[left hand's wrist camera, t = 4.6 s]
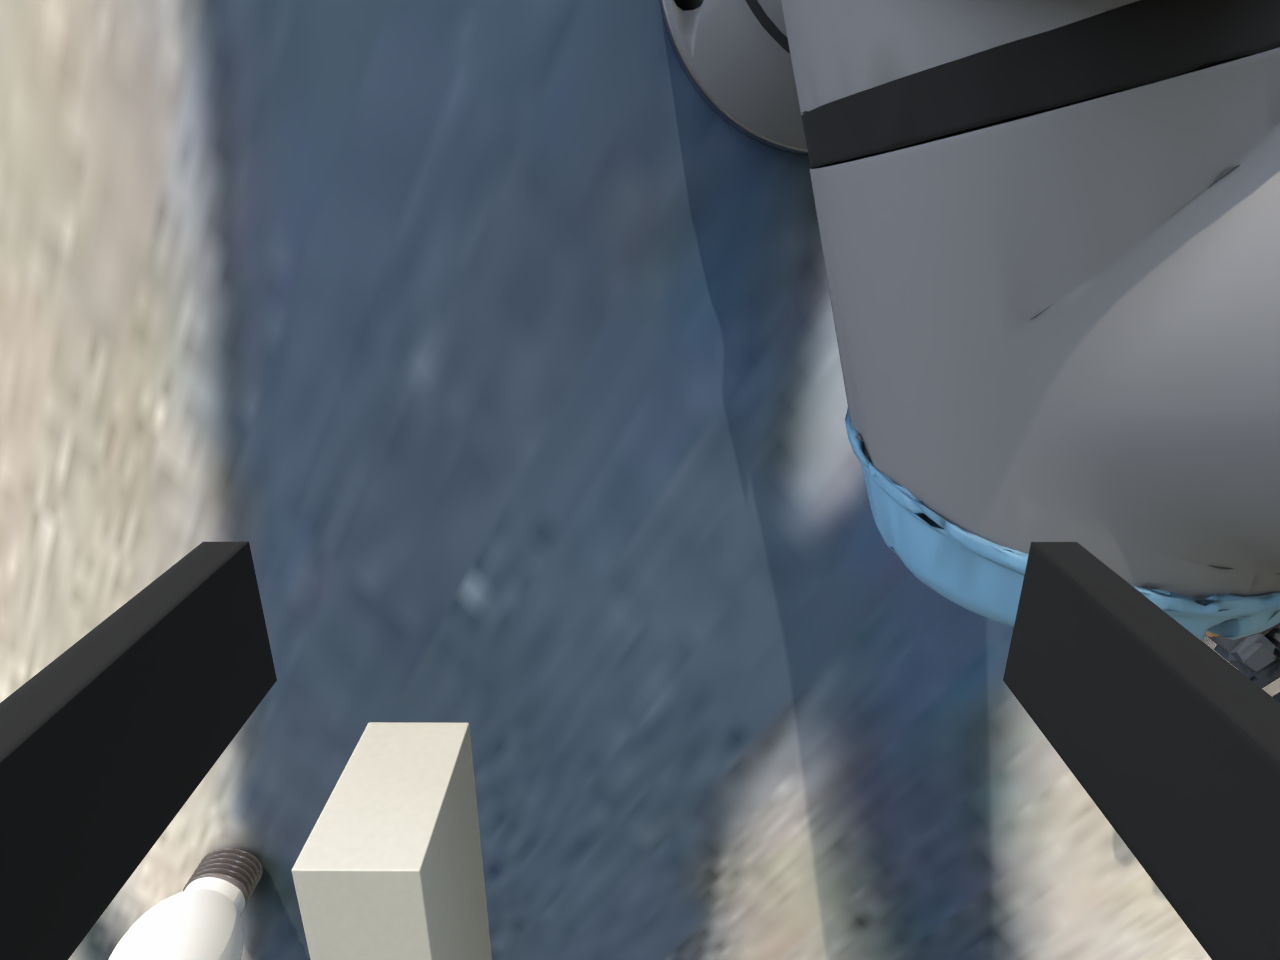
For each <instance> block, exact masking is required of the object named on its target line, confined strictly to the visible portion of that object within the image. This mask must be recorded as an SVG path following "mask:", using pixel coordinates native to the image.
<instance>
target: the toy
mask: <svg viewBox="0 0 1280 960" xmlns="http://www.w3.org/2000/svg"><path fill="white" fill-rule="evenodd" d="M1205 635H1207V636H1208V637H1209V638H1210V639H1211V640H1212V641H1214V642H1215V643H1216V644H1217V646H1216V647H1215V649H1214V650H1215V651H1216V652H1218V653H1219V654H1220V655H1221V656H1222V657H1224V658H1225V659H1226V660H1227V661H1228V662H1230V663H1231V664H1232V665H1233V666H1235V667H1236V668H1237V669H1238V670H1239V671H1240V672H1241V673H1242V674H1244V675H1245V676H1246V677H1247V678H1249V679H1250V680H1251V681H1252V682H1254V683H1255V684H1256V685H1257V686H1259V687H1260V688H1261V689H1262V688H1264V687H1265V686H1267V685H1268V684H1270V683H1271V682H1273V681H1275V680H1276V679H1278V678H1279V677H1280V623H1278V624H1276V625H1274V626H1272V627H1270V628H1268V629H1266V630H1264V631H1262V632H1259V633H1256V634H1252V635H1249V636H1245V637H1242V638H1238V639H1234V640H1232V639H1228V638H1225V637H1221V636H1219V635H1216V634H1213V633H1211V632H1208V631H1206V634H1205ZM1272 698H1274V699H1275V700H1276V701H1277V702H1279V703H1280V692H1279V693H1278V694H1276V695H1274V696H1273V697H1272Z"/></svg>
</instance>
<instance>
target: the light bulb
mask: <svg viewBox="0 0 1280 960" xmlns="http://www.w3.org/2000/svg"><path fill="white" fill-rule="evenodd" d="M262 872H263V870H262V866H261V863H260V862H259V861H258V859H257V858H256V857H254V856H253V855H252V854H250V853H248V852H246V851H243V850H239V849H231V848H227V849H220V850H216V851H214V852H211V853H209V854H208V855H207V856H205V857H204V858H203V860H202V861H201V863H200V864H199V866H198V868H197V869H196V870H195V872H194V873H193V875H192V877H191V878H190V879H189V881H188V883H187V884H186V885H185V887H184V889H183V892H180V893H178V894H175V895H173V896H171V897H169V898H166V899H164V900H162V901H161V902H159V903H158V904H157V905H155V906H154V907H152V908H151V909H149V910H148V911H147V912H145V913H144V914H143V915H142V916H141V917H140V918H139V919H138V920H137V921H136V922H135V923H134V924H133V925H132V926H131V927H130V929H129V930H128V931H127V932H126V934H125V935H124V936H123V937H122V939H121V940H120V941H119V942H118V944H117V946H116V947H115V949H114V951H113V952H112V954H111V956H110V957H109V960H241V956H242V951H243V942H244V931H243V924H242V918H241V916H240V915H241V913H242V911H243V909H244V907H245V905H246V903H247V902H248V900H249V898H250V896H251V894H252V893H253V890H254V889H255V887H256V885H257V883H258V882H259V880H260V878H261V876H262Z"/></svg>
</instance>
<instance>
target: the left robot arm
mask: <svg viewBox="0 0 1280 960" xmlns="http://www.w3.org/2000/svg"><path fill="white" fill-rule="evenodd" d="M660 5H661V11H662V15H663V19H664V23H665V26H666V30H667V33H668V36H669V39H670V41H671V44H672V47H673V50H674V52H675V54H676V56H677V58H678V60H679V62H680V64H681V67H682V68H683V70H684V72H685V73H686V75H687V77H688V78H689V80H690V82H691V83H692V84H693V86H694V87H695V89H696V90H697V91H698V93H699V94H700V95H701V97H702V98H703V99H704V100H705V101H706V102H707V103H708V104H709V106H710V107H711V108H712V109H713V110H714V111H715V112H716V113H717V114H719V115H720V116H721V117H722V118H723V119H724V120H725V121H726V122H728V123H729V124H731V125H732V126H733V127H735V128H736V129H737V130H739V131H740V132H742V133H744V134H746V135H747V136H749V137H751V138H753V139H755V140H757V141H759V142H761V143H764V144H766V145H768V146H771V147H774V148H778V149H781V150H784V151H789V152H794V153H799V154H808V156H809V161H810V176H811V182H812V188H813V194H814V200H815V206H816V212H817V218H818V225H819V231H820V237H821V243H822V249H823V255H824V261H825V267H826V274H827V280H828V286H829V292H830V298H831V304H832V310H833V317H834V323H835V329H836V335H837V341H838V347H839V353H840V359H841V366H842V372H843V378H844V384H845V390H846V396H847V402H848V410H847V414H846V419H845V421H846V428H847V433H848V438H849V441H850V443H851V446H852V448H853V451H854V453H855V454H856V456H857V457H858V459H859V460H860V462H861V465H862V470H863V474H864V478H865V483H866V487H867V492H868V496H869V501H870V505H871V510H872V513H873V517H874V520H875V523H876V526H877V528H878V530H879V532H880V534H881V536H882V538H883V539H884V541H885V543H886V544H887V546H888V547H889V548H890V549H891V550H892V551H894V552H895V553H896V554H897V555H898V556H899V557H900V558H901V560H902V561H903V563H904V564H905V566H906V567H907V568H908V569H909V570H910V571H911V572H912V573H913V574H914V575H915V576H916V577H917V578H918V579H919V580H920V581H921V582H923V583H924V584H926V585H927V586H929V587H930V588H932V589H933V590H934V591H936V592H937V593H939V594H940V595H942V596H943V597H945V598H947V599H949V600H950V601H952V602H954V603H956V604H957V605H959V606H961V607H963V608H965V609H967V610H969V611H972V612H974V613H976V614H979V615H981V616H983V617H986V618H988V619H991V620H993V621H996V622H998V623H1001V624H1004V625H1007V626H1011V627H1014V629H1013V634H1012V639H1011V644H1010V649H1009V654H1008V659H1007V664H1006V669H1005V674H1004V679H1003V681H1004V682H1005V683H1006V685H1007V686H1008V687H1009V689H1010V690H1011V691H1012V693H1013V694H1014V695H1015V697H1016V698H1017V699H1018V701H1019V702H1020V703H1021V705H1022V706H1023V707H1024V709H1025V710H1026V711H1027V713H1028V714H1029V715H1030V717H1031V718H1032V719H1033V721H1034V722H1035V723H1036V725H1037V726H1038V727H1039V729H1040V730H1041V731H1042V733H1043V734H1044V735H1045V737H1046V738H1047V739H1048V741H1049V742H1050V743H1051V745H1052V746H1053V747H1054V749H1055V750H1056V751H1057V753H1058V754H1059V755H1060V757H1061V758H1062V759H1063V761H1064V762H1065V764H1066V765H1067V766H1068V768H1069V769H1070V770H1071V772H1072V773H1073V774H1074V776H1075V777H1076V778H1077V780H1078V781H1079V782H1080V784H1081V785H1082V786H1083V788H1084V789H1085V790H1086V792H1087V793H1088V794H1089V796H1090V797H1091V798H1092V800H1093V801H1094V802H1095V804H1096V805H1097V806H1098V808H1099V809H1100V810H1101V812H1102V813H1103V814H1104V816H1105V817H1106V818H1107V820H1108V821H1109V822H1110V824H1111V825H1112V826H1113V828H1114V829H1115V830H1116V832H1117V833H1118V834H1119V836H1120V837H1121V838H1122V840H1123V841H1124V842H1125V844H1126V845H1127V846H1128V848H1129V849H1130V850H1131V852H1132V853H1133V854H1134V856H1135V857H1136V858H1137V860H1138V861H1139V862H1140V864H1141V865H1142V866H1143V868H1144V869H1145V871H1146V872H1147V873H1148V875H1149V876H1150V877H1151V879H1152V880H1153V881H1154V883H1155V884H1156V885H1157V887H1158V888H1159V889H1160V891H1161V892H1162V893H1163V895H1164V896H1165V897H1166V899H1167V900H1168V901H1169V903H1170V904H1171V905H1172V907H1173V908H1174V909H1175V911H1176V912H1177V913H1178V915H1179V916H1180V917H1181V919H1182V920H1183V921H1184V923H1185V924H1186V925H1187V927H1188V928H1189V929H1190V931H1191V932H1192V933H1193V935H1194V936H1195V937H1196V939H1197V940H1198V941H1199V943H1200V944H1201V945H1202V947H1203V948H1204V949H1205V951H1206V952H1207V953H1208V955H1209V956H1210V957H1211V959H1212V960H1280V703H1279V702H1277V701H1276V700H1275V699H1274V698H1272V697H1271V696H1270V695H1269V694H1267V693H1266V692H1265V691H1264V690H1262V689H1261V688H1260V687H1259V686H1257V685H1256V684H1255V683H1254V682H1252V681H1251V680H1250V679H1249V678H1247V677H1246V676H1245V675H1244V674H1242V673H1241V672H1240V671H1238V670H1237V669H1236V668H1235V667H1233V666H1232V665H1231V664H1230V663H1228V662H1227V661H1226V660H1225V659H1223V658H1222V657H1221V656H1220V655H1218V654H1217V653H1216V652H1215V651H1213V650H1212V649H1211V648H1210V647H1208V646H1207V645H1206V644H1205V643H1203V642H1202V641H1201V640H1202V639H1203V638H1204V637H1205V634H1206V631H1208V632H1211V633H1213V634H1216V635H1219V636H1221V637H1225V638H1228V639H1232V640H1234V639H1238V638H1242V637H1245V636H1249V635H1252V634H1256V633H1259V632H1262V631H1264V630H1266V629H1268V628H1270V627H1272V626H1274V625H1276V624H1278V623H1280V0H660ZM276 681H277V679H276V674H275V669H274V664H273V659H272V654H271V649H270V644H269V639H268V634H267V629H266V624H265V619H264V614H263V609H262V604H261V600H260V595H259V590H258V585H257V580H256V575H255V570H254V565H253V560H252V555H251V550H250V545H249V542H202V543H201V544H200V545H199V546H197V547H196V548H195V549H194V550H192V551H191V552H190V553H189V554H187V555H186V556H185V557H184V558H182V559H181V560H180V561H179V562H177V563H176V564H175V565H174V566H172V567H171V568H170V569H168V570H167V571H166V572H165V573H163V574H162V575H161V576H160V577H158V578H157V579H156V580H155V581H153V582H152V583H151V584H150V585H148V586H147V587H146V588H145V589H143V590H142V591H141V592H140V593H138V594H137V595H136V596H135V597H133V598H132V599H131V600H130V601H128V602H127V603H126V604H124V605H123V606H122V607H121V608H119V609H118V610H117V611H116V612H114V613H113V614H112V615H111V616H109V617H108V618H107V619H106V620H104V621H103V622H102V623H101V624H99V625H98V626H97V627H96V628H94V629H93V630H92V631H91V632H89V633H88V634H87V635H86V636H84V637H83V638H82V639H80V640H79V641H78V642H77V643H75V644H74V645H73V646H72V647H70V648H69V649H68V650H67V651H65V652H64V653H63V654H62V655H60V656H59V657H58V658H57V659H55V660H54V661H53V662H52V663H50V664H49V665H48V666H47V667H45V668H44V669H43V670H42V671H40V672H39V673H38V674H36V675H35V676H34V677H33V678H31V679H30V680H29V681H28V682H26V683H25V684H24V685H23V686H21V687H20V688H19V689H18V690H16V691H15V692H14V693H13V694H11V695H10V696H9V697H8V698H6V699H5V700H4V701H3V702H1V703H0V960H68V959H69V957H70V956H71V955H72V953H73V952H74V951H75V949H76V948H77V947H78V945H79V944H80V943H81V941H82V940H83V939H84V937H85V936H86V935H87V933H88V932H89V931H90V929H91V928H92V927H93V925H94V924H95V923H96V921H97V920H98V919H99V917H100V916H101V915H102V913H103V912H104V911H105V909H106V908H107V907H108V905H109V904H110V903H111V901H112V900H113V899H114V897H115V896H116V895H117V893H118V892H119V891H120V889H121V888H122V887H123V885H124V884H125V883H126V881H127V880H128V879H129V877H130V876H131V875H132V873H133V872H134V871H135V869H136V868H137V866H138V865H139V864H140V862H141V861H142V860H143V858H144V857H145V856H146V854H147V853H148V852H149V850H150V849H151V848H152V846H153V845H154V844H155V842H156V841H157V840H158V838H159V837H160V836H161V834H162V833H163V832H164V830H165V829H166V828H167V826H168V825H169V824H170V822H171V821H172V820H173V818H174V817H175V816H176V814H177V813H178V812H179V810H180V809H181V808H182V806H183V805H184V804H185V802H186V801H187V800H188V798H189V797H190V796H191V794H192V793H193V792H194V790H195V789H196V788H197V786H198V785H199V784H200V782H201V781H202V780H203V778H204V777H205V776H206V774H207V773H208V772H209V770H210V769H211V768H212V766H213V765H214V764H215V762H216V761H217V759H218V758H219V757H220V755H221V754H222V753H223V751H224V750H225V749H226V747H227V746H228V745H229V743H230V742H231V741H232V739H233V738H234V737H235V735H236V734H237V733H238V731H239V730H240V729H241V727H242V726H243V725H244V723H245V722H246V721H247V719H248V718H249V717H250V715H251V714H252V713H253V711H254V710H255V709H256V707H257V706H258V705H259V703H260V702H261V701H262V699H263V698H264V697H265V695H266V694H267V693H268V691H269V690H270V689H271V687H272V686H273V685H274V683H275V682H276Z"/></svg>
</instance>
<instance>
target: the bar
mask: <svg viewBox="0 0 1280 960" xmlns="http://www.w3.org/2000/svg"><path fill="white" fill-rule="evenodd" d="M292 875H293V879H294V884H295V888H296V893H297V898H298V902H299V907H300V912H301V916H302V921H303V926H304V930H305V935H306V940H307V944H308V949H309V954H310V958H311V960H492V956H491V945H490V935H489V925H488V914H487V904H486V894H485V883H484V873H483V863H482V853H481V842H480V832H479V822H478V811H477V801H476V791H475V780H474V770H473V760H472V749H471V739H470V729H469V723H368V725H367V727H366V729H365V731H364V733H363V734H362V736H361V738H360V740H359V742H358V744H357V746H356V748H355V750H354V752H353V754H352V755H351V757H350V759H349V761H348V763H347V765H346V767H345V769H344V771H343V773H342V775H341V777H340V778H339V780H338V782H337V784H336V786H335V788H334V790H333V792H332V794H331V796H330V798H329V799H328V801H327V803H326V805H325V807H324V809H323V811H322V813H321V815H320V817H319V819H318V821H317V822H316V824H315V826H314V828H313V830H312V832H311V834H310V836H309V838H308V840H307V842H306V844H305V845H304V847H303V849H302V851H301V853H300V855H299V857H298V859H297V861H296V863H295V865H294V866H293V868H292Z"/></svg>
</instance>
